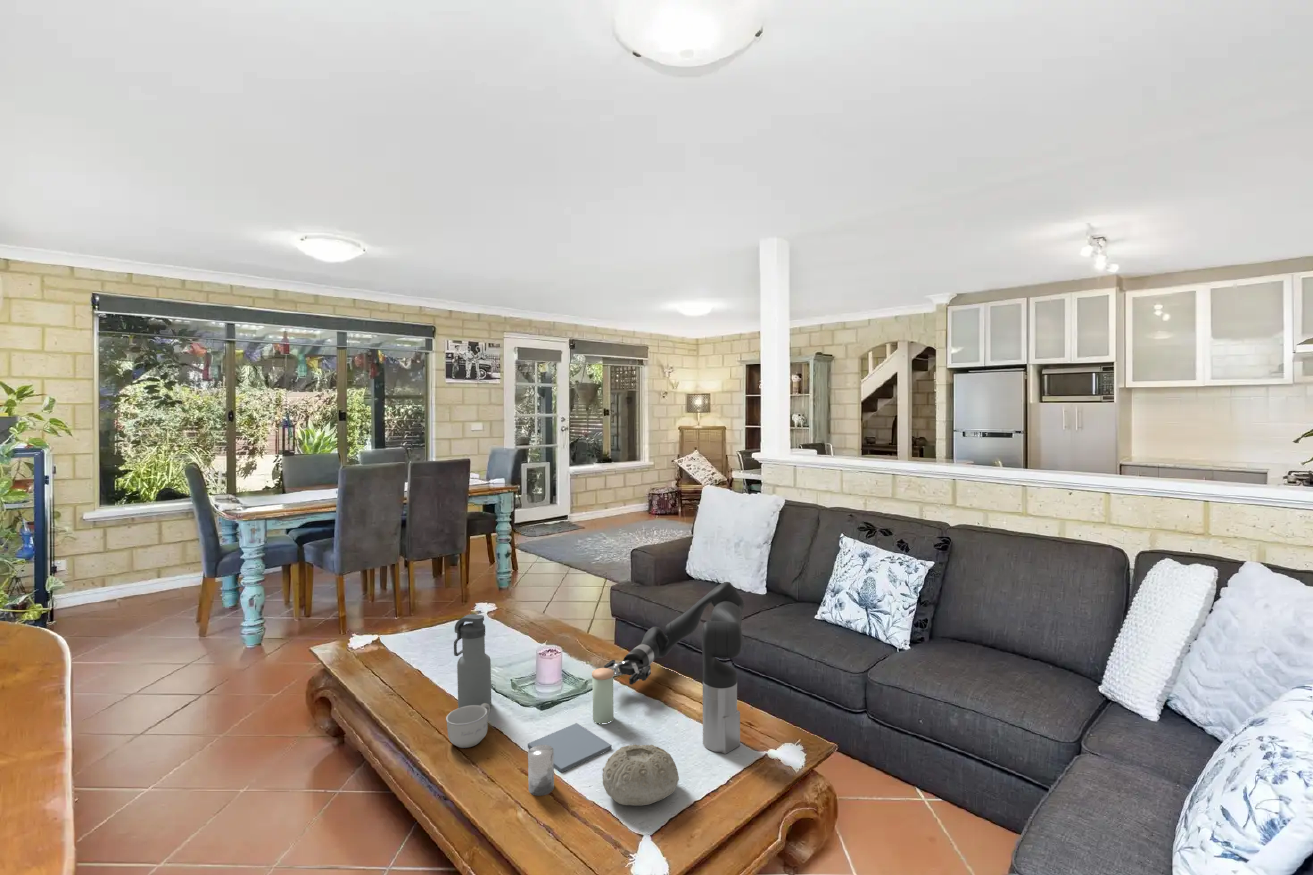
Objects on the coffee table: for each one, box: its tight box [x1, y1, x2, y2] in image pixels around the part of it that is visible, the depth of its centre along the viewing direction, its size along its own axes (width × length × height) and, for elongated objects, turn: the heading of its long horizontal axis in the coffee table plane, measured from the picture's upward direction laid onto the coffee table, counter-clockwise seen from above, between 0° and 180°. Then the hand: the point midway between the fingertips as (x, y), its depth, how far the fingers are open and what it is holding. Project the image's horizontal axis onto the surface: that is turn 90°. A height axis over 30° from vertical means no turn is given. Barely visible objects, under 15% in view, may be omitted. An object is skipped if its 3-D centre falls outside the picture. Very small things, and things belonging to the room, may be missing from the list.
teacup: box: [445, 703, 491, 749], centre depth 172 cm, size 14×11×8 cm
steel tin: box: [527, 745, 555, 797], centre depth 150 cm, size 6×6×9 cm
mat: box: [527, 722, 612, 773], centre depth 168 cm, size 16×16×1 cm
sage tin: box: [591, 667, 615, 725], centre depth 183 cm, size 6×6×14 cm
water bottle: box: [453, 613, 492, 709], centre depth 190 cm, size 10×10×28 cm
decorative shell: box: [602, 743, 680, 806], centre depth 148 cm, size 18×18×10 cm
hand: (617, 679), depth 192 cm, fingers open, 8 cm apart
